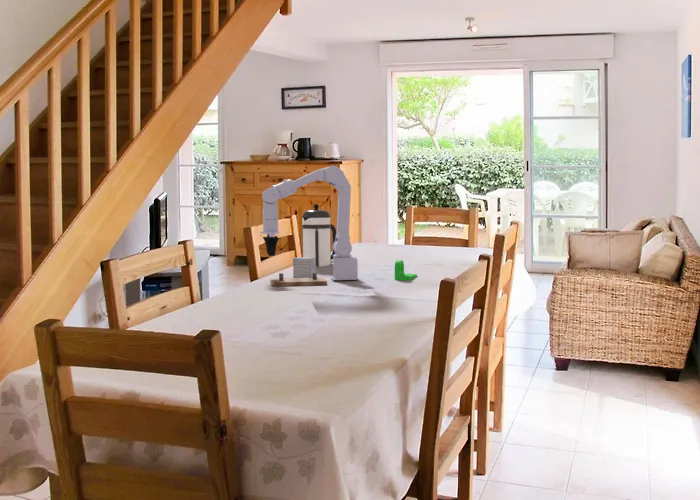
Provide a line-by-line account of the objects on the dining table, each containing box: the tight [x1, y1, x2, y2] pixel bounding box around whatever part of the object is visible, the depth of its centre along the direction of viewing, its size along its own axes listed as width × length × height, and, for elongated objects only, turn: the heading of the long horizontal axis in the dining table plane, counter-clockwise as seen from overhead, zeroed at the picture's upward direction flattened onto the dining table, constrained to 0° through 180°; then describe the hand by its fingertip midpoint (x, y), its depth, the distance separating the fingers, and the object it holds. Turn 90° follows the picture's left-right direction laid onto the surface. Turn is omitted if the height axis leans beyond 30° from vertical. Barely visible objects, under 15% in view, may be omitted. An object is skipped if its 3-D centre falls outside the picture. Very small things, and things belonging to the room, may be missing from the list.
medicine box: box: [292, 257, 316, 278], centre depth 307 cm, size 8×4×9 cm, turn 71°
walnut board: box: [269, 272, 328, 288], centre depth 291 cm, size 20×15×4 cm
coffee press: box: [301, 203, 337, 267], centre depth 338 cm, size 17×16×30 cm
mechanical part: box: [394, 259, 418, 281], centre depth 303 cm, size 12×6×8 cm, turn 158°
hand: (271, 255), depth 296 cm, fingers open, 7 cm apart
